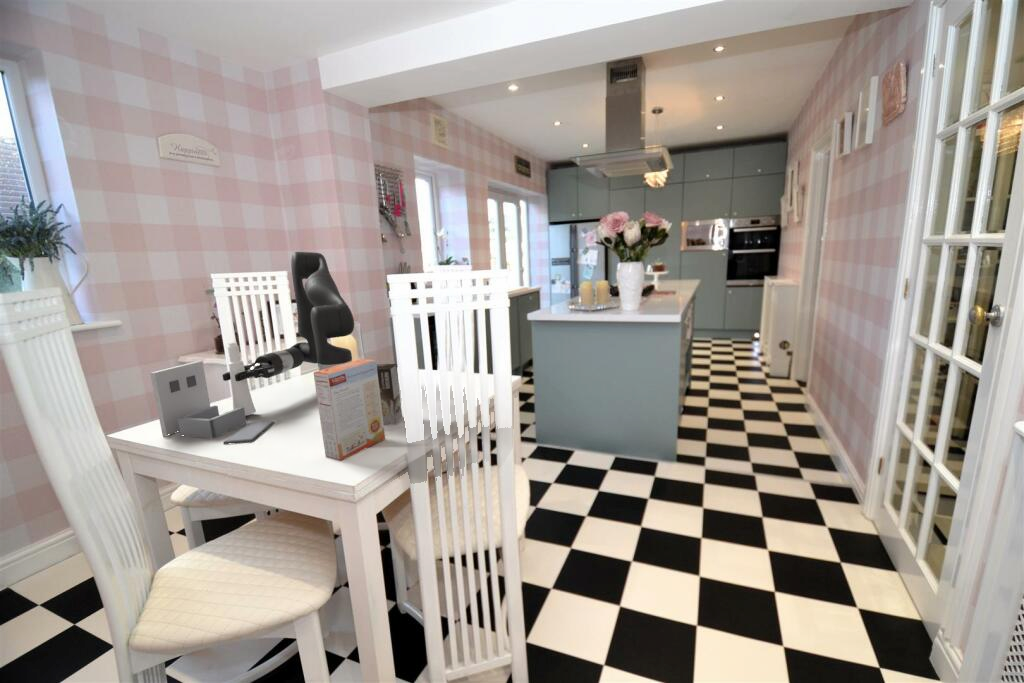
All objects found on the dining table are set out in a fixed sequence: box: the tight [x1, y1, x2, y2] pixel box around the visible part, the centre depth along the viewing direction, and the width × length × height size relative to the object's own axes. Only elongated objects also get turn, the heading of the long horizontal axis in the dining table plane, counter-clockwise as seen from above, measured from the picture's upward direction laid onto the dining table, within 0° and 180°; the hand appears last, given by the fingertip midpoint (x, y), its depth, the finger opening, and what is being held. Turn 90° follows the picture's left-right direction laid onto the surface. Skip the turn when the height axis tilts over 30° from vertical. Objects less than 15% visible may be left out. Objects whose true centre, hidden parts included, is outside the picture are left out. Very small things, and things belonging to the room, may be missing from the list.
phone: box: [223, 420, 276, 445], centre depth 124 cm, size 7×14×1 cm, turn 6°
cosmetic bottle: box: [227, 341, 256, 417], centre depth 135 cm, size 6×6×22 cm
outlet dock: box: [150, 360, 248, 439], centre depth 127 cm, size 17×14×18 cm
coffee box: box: [376, 363, 403, 426], centre depth 126 cm, size 9×6×16 cm
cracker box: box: [313, 358, 386, 461], centre depth 108 cm, size 14×6×21 cm, turn 149°
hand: (230, 377), depth 132 cm, fingers closed on cosmetic bottle, 4 cm apart
